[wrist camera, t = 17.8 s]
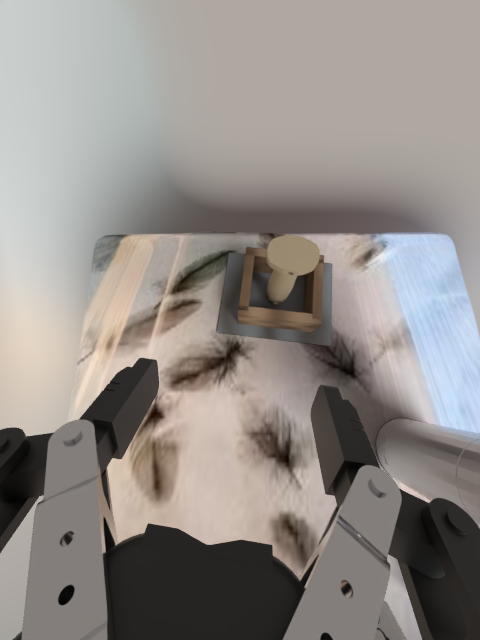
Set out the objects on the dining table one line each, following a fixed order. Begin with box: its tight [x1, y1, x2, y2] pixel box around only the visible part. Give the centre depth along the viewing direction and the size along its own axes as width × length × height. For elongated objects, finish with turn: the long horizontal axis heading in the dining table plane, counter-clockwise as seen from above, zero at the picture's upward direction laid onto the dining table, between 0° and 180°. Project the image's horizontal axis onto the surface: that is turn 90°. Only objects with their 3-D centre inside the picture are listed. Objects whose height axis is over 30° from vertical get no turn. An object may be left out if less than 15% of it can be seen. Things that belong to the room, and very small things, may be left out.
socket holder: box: [217, 247, 332, 346], centre depth 41 cm, size 20×16×6 cm
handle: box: [266, 235, 320, 305], centre depth 36 cm, size 5×6×15 cm
